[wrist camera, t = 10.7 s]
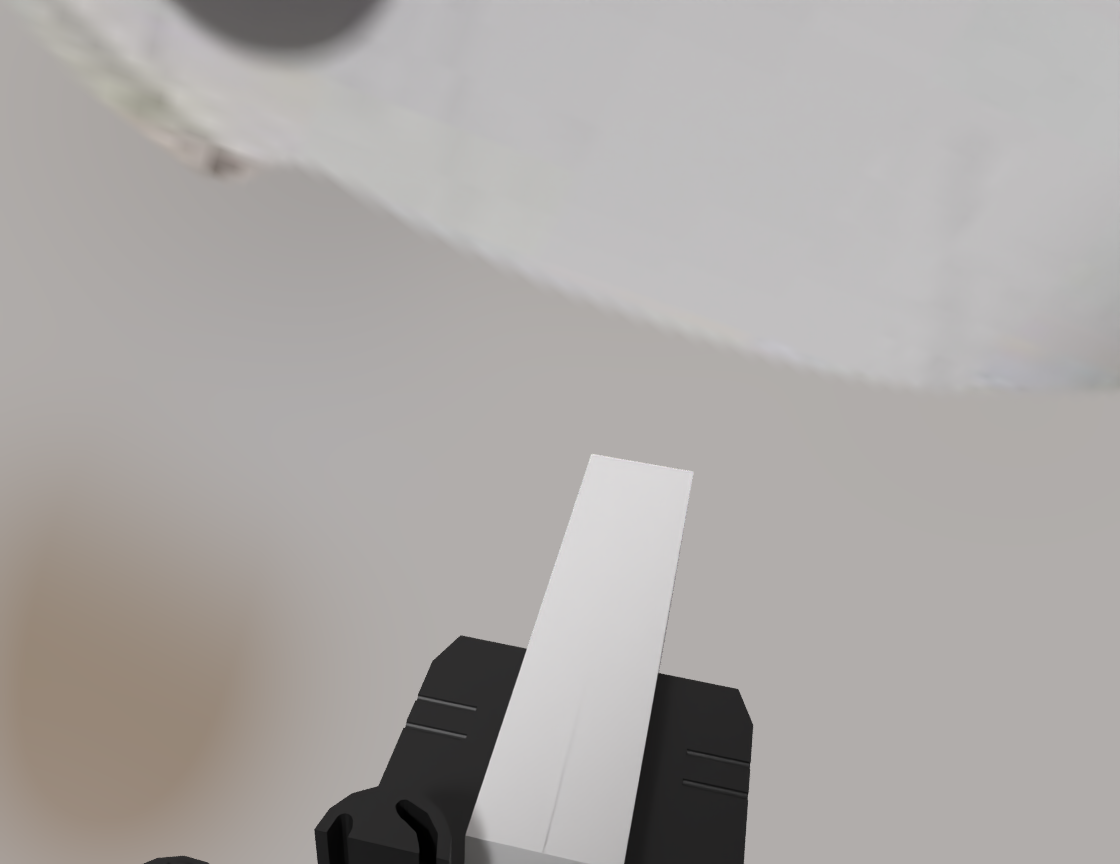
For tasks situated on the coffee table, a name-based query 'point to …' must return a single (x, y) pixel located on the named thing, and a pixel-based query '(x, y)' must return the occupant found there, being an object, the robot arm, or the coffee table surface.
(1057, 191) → the coffee table surface
